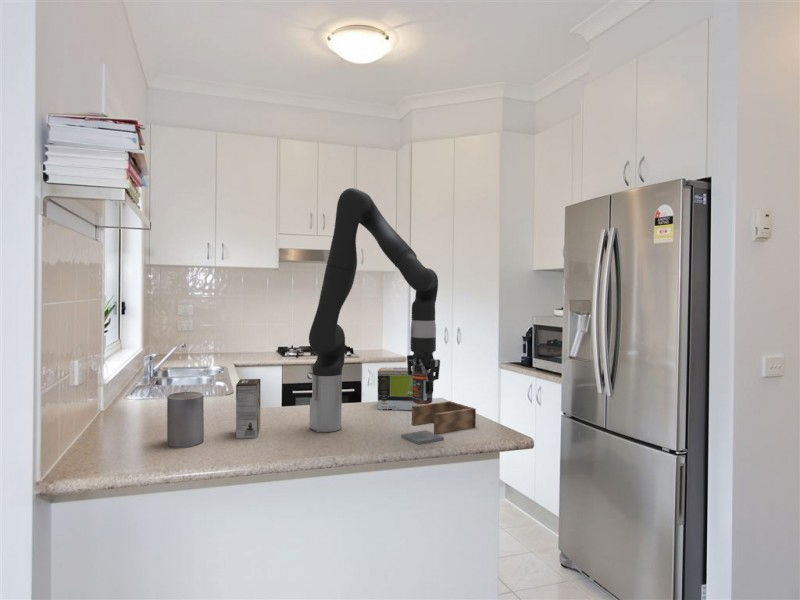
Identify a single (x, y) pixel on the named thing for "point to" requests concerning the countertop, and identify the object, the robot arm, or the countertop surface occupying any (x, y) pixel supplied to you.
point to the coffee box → (248, 408)
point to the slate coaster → (422, 437)
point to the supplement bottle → (420, 387)
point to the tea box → (395, 388)
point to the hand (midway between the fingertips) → (422, 391)
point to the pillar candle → (185, 419)
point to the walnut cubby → (445, 416)
